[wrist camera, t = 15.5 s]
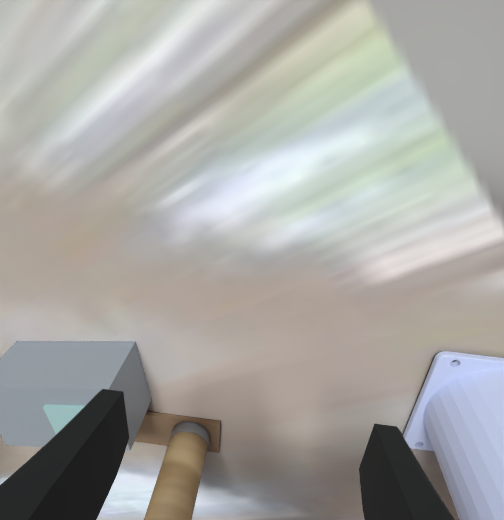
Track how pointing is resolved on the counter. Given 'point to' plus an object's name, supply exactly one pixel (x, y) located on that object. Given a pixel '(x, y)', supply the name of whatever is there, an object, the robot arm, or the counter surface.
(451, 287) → the counter surface
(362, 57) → the counter surface
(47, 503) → the robot arm
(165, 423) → the strip
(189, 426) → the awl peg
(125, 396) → the finder block
